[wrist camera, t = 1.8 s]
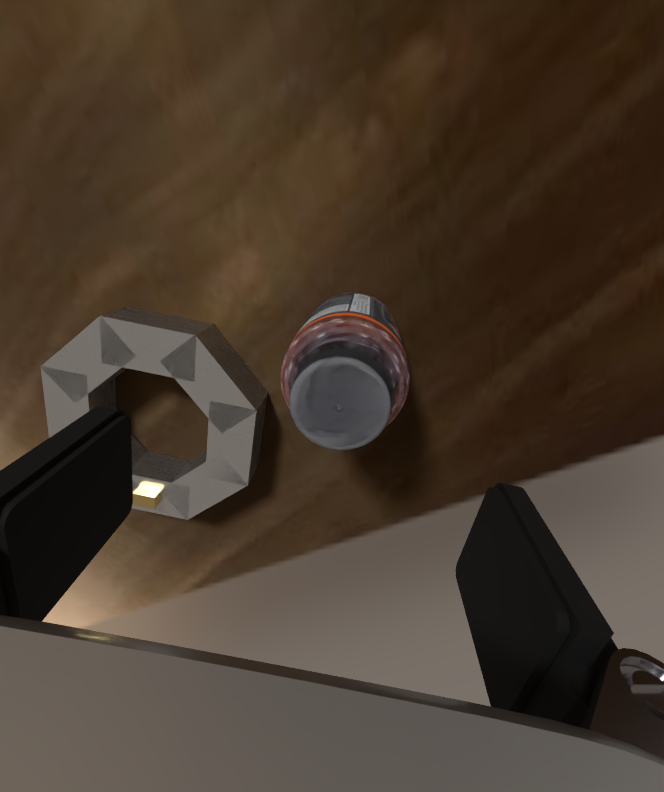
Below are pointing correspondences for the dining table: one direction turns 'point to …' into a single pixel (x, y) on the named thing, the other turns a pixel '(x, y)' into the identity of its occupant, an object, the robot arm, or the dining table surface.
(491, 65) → the dining table surface
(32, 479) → the robot arm
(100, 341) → the grey octagonal ring
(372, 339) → the supplement bottle
